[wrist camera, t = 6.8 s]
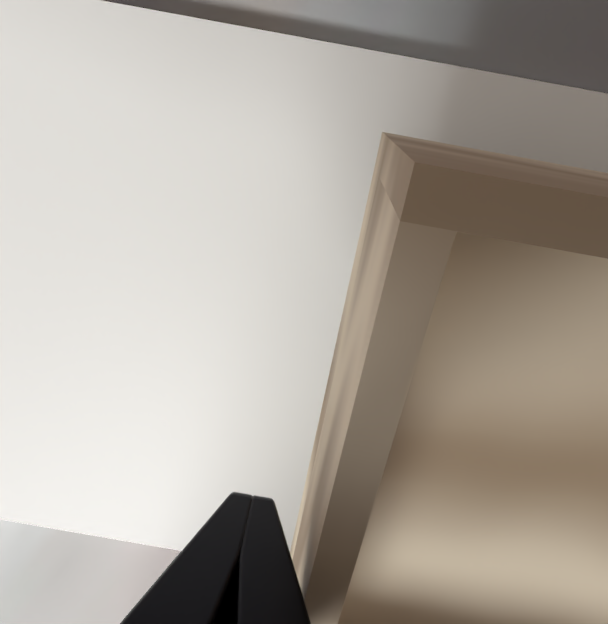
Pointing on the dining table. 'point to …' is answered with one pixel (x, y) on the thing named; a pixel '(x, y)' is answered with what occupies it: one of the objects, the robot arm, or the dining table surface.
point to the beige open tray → (465, 400)
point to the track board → (200, 247)
